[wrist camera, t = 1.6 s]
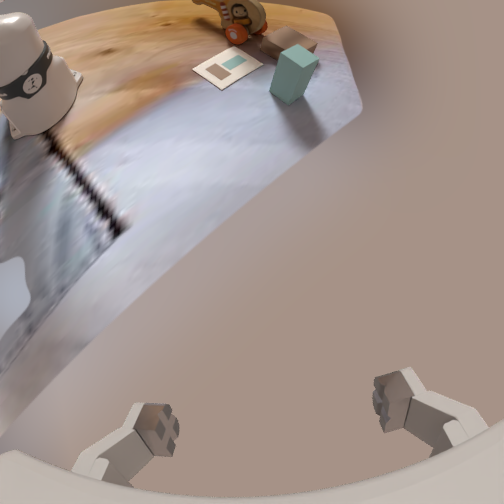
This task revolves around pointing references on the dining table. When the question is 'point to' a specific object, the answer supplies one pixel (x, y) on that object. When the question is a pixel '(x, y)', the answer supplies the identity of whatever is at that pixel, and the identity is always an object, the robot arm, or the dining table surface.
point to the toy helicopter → (239, 17)
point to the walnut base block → (285, 42)
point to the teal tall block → (293, 73)
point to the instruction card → (227, 67)
